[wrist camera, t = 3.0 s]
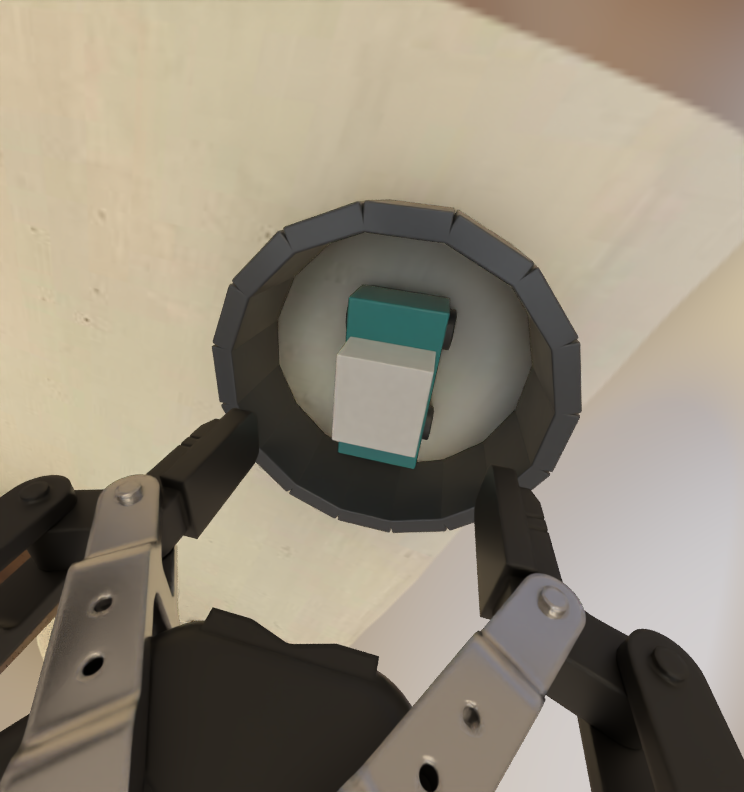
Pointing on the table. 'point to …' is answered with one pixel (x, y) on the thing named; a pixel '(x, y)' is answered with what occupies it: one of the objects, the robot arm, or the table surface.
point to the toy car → (389, 373)
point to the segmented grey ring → (372, 480)
